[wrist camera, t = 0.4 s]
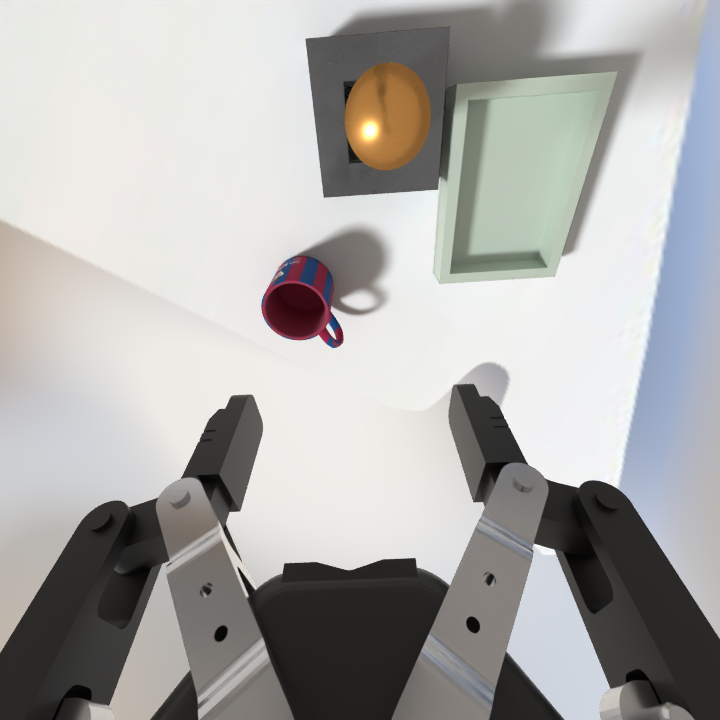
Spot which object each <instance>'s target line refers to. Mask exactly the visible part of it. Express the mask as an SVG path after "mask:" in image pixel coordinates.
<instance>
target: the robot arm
mask: <svg viewBox="0 0 720 720" xmlns="http://www.w3.org/2000/svg"><path fill="white" fill-rule="evenodd" d="M449 424H450V428H451V431H452V434H453V437H454V441H455V444H456V447H457V450H458V454H459V457H460V460H461V463H462V467H463V470H464V473H465V476H466V480H467V483H468V486H469V489H470V493H471V496H472V499H473V502H483V503H484V506H485V509H484V511H483V513H482V516H481V518H480V520H479V521H478V523H477V525H476V528H475V530H474V532H473V534H472V537H471V540H470V541H469V544H468V546H467V548H466V551H465V553H464V555H463V557H462V560H461V562H460V564H459V567H458V569H457V571H456V573H455V576H454V578H453V580H452V583H451V585H450V586H449V585H448V584H447V583H446V582H445V581H443V580H442V579H441V578H439V577H438V576H436V575H434V574H432V573H430V572H428V571H426V570H423V569H420V568H417V567H416V559H415V558H410V559H384V560H380V561H377V562H374V563H371V564H369V565H366V566H363V567H360V568H357V569H354V570H344V569H340V568H336V567H332V566H329V565H325V564H321V563H317V562H310V563H285V564H284V569H283V574H280V575H277V576H275V577H273V578H271V579H270V580H268V581H267V582H265V583H264V584H263V585H261V586H260V587H259V588H257V586H256V584H255V582H254V580H253V578H252V577H251V575H250V573H249V571H248V569H247V567H246V565H245V563H244V561H243V558H242V556H241V554H240V552H239V549H238V547H237V545H236V543H235V540H234V538H233V536H232V534H231V531H230V529H229V527H228V525H227V523H226V521H227V518H228V515H229V512H237V511H240V510H241V507H242V503H243V499H244V496H245V493H246V489H247V486H248V482H249V479H250V475H251V472H252V468H253V465H254V461H255V457H256V454H257V451H258V447H259V444H260V440H261V437H262V432H263V423H262V419H261V416H260V413H259V410H258V408H257V405H256V402H255V399H254V397H253V395H234V396H231V398H230V400H229V402H228V404H227V407H226V409H219V410H218V411H217V412H216V413H215V414H214V415H213V416H212V417H211V418H210V419H209V421H208V423H207V425H206V427H205V430H204V433H203V434H202V436H201V438H200V442H198V444H197V446H196V449H195V451H194V453H193V455H192V457H191V459H190V461H189V463H188V465H187V467H186V469H185V471H184V474H183V476H182V477H181V479H180V480H177V481H175V482H173V483H172V484H170V485H169V486H168V487H167V488H166V489H165V490H164V491H163V492H162V493H161V494H160V496H159V497H158V498H156V499H153V500H150V501H147V502H144V503H141V504H138V505H135V506H132V507H128V506H127V505H126V504H125V503H124V502H122V501H110V502H107V503H104V504H102V505H100V506H98V507H97V508H95V509H94V510H92V511H91V512H90V513H89V514H88V515H87V516H86V517H85V518H84V519H83V520H82V521H81V523H80V524H79V526H78V527H77V529H76V530H75V532H74V534H73V535H72V537H71V539H70V540H69V542H68V544H67V545H66V547H65V548H64V550H63V552H62V554H61V555H60V557H59V558H58V560H57V562H56V563H55V565H54V566H53V568H52V570H51V571H50V573H49V575H48V576H47V578H46V580H45V581H44V583H43V584H42V586H41V588H40V589H39V591H38V592H37V594H36V596H35V597H34V599H33V601H32V602H31V604H30V606H29V607H28V609H27V611H26V612H25V614H24V615H23V617H22V619H21V620H20V622H19V623H18V625H17V627H16V629H15V630H14V632H13V633H12V635H11V636H10V638H9V640H8V641H7V643H6V645H5V646H4V648H3V649H2V651H1V653H0V720H115V715H114V712H113V710H112V709H111V708H110V707H109V704H110V702H111V699H112V696H113V694H114V691H115V688H116V686H117V683H118V680H119V678H120V675H121V672H122V669H123V667H124V664H125V662H126V659H127V656H128V654H129V651H130V648H131V646H132V643H133V640H134V638H135V635H136V632H137V629H138V627H139V624H140V622H141V619H142V616H143V613H144V611H145V608H146V606H147V603H148V600H149V598H150V595H151V592H152V590H153V587H154V584H155V581H156V579H157V576H158V573H159V571H160V568H161V565H162V563H165V562H168V561H170V564H168V565H167V566H166V575H167V579H168V583H169V587H170V591H171V595H172V599H173V603H174V607H175V611H176V615H177V618H178V622H179V626H180V630H181V634H182V638H183V642H184V646H185V650H186V654H187V658H188V662H189V665H190V671H189V672H188V673H187V674H186V676H185V677H184V678H183V679H182V681H181V682H180V683H179V684H178V686H177V687H176V688H175V689H174V691H173V692H172V693H171V695H170V696H169V697H168V698H167V699H166V701H165V702H164V703H163V705H162V706H161V707H160V708H159V709H158V711H157V712H156V713H155V714H154V716H153V717H152V718H151V719H150V720H564V719H563V718H562V716H561V715H560V714H559V713H558V712H557V711H556V709H555V708H554V707H553V706H552V705H551V703H550V702H549V701H548V700H547V699H546V698H545V696H544V695H543V694H542V693H541V692H540V690H539V689H538V688H537V687H536V686H535V685H534V683H533V682H532V681H531V680H530V679H529V677H528V676H527V675H526V674H525V673H524V672H523V670H521V668H520V667H519V666H518V664H517V663H516V662H515V661H514V660H513V659H512V657H511V656H510V655H509V654H508V653H507V652H506V649H507V646H508V642H509V639H510V635H511V632H512V629H513V625H514V621H515V618H516V615H517V611H518V607H519V604H520V601H521V597H522V594H523V590H524V587H525V583H526V580H527V576H528V573H529V569H530V566H531V562H532V558H533V550H532V547H533V543H534V544H538V545H541V546H544V547H548V548H551V549H554V550H555V552H556V555H557V557H558V560H559V562H560V565H561V567H562V569H563V572H564V574H565V577H566V579H567V582H568V584H569V587H570V589H571V592H572V594H573V596H574V599H575V602H576V604H577V607H578V609H579V612H580V614H581V616H582V619H583V622H584V624H585V626H586V629H587V631H588V634H589V636H590V639H591V641H592V644H593V646H594V649H595V651H596V654H597V656H598V659H599V661H600V663H601V666H602V669H603V671H604V673H605V676H606V678H607V681H608V683H609V686H610V688H611V689H610V690H608V691H607V692H605V694H604V695H603V696H602V699H601V702H600V717H601V720H720V639H719V637H718V636H717V634H716V633H715V631H714V630H713V628H712V626H711V625H710V623H709V622H708V620H707V619H706V617H705V616H704V614H703V613H702V611H701V610H700V608H699V606H698V605H697V604H696V602H695V600H694V599H693V597H692V596H691V594H690V593H689V591H688V589H687V588H686V586H685V585H684V584H683V582H682V580H681V579H680V577H679V576H678V574H677V573H676V571H675V569H674V568H673V566H672V565H671V564H670V562H669V560H668V559H667V557H666V556H665V554H664V553H663V551H662V549H661V548H660V546H659V545H658V543H657V542H656V540H655V539H654V537H653V536H652V534H651V533H650V531H649V529H648V528H647V527H646V525H645V523H644V522H643V520H642V519H641V517H640V516H639V514H638V512H637V511H636V509H635V508H634V506H633V505H632V503H631V502H630V500H629V499H628V498H627V497H626V496H625V495H624V494H623V493H622V492H621V491H620V490H618V489H617V488H615V487H613V486H612V485H609V484H607V483H604V482H601V481H594V480H593V481H586V482H584V483H583V484H582V485H581V486H580V487H579V488H577V487H573V486H568V485H564V484H560V483H556V482H553V481H550V480H547V479H545V478H544V477H543V475H542V474H541V473H540V472H539V471H537V470H536V469H535V468H533V467H531V466H529V465H528V463H527V462H526V460H525V458H524V456H523V454H522V452H521V450H520V448H519V446H518V444H517V442H516V440H515V438H514V436H513V434H512V432H511V430H510V428H509V427H508V424H507V422H506V420H505V419H504V416H503V414H502V412H501V410H500V408H499V406H498V405H497V404H496V403H495V402H494V401H493V400H492V399H491V398H490V397H488V396H484V397H480V396H479V393H478V391H477V389H476V387H475V385H474V384H461V385H460V384H459V385H454V386H453V389H452V395H451V401H450V407H449Z"/></svg>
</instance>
